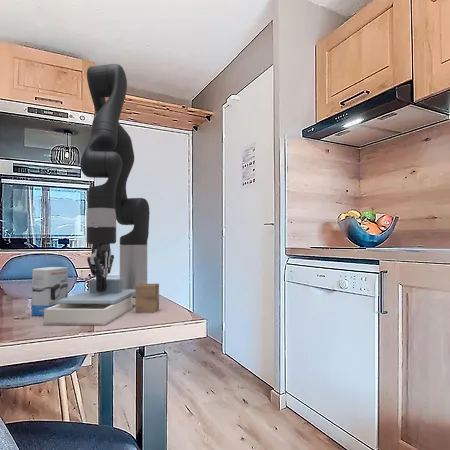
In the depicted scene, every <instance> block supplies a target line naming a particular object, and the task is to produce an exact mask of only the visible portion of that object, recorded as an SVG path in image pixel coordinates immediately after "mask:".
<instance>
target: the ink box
mask: <svg viewBox="0 0 450 450" xmlns="http://www.w3.org/2000/svg"><path fill="white" fill-rule="evenodd" d="M31 280H32V285H31V286H32V287H31V288H32V290H31V316H39V317H40V316H41V317H42V316H43V317H44V309H46V308H49V307H52V306H55V305H58V304H61V303H58V300H60V299H63V298H67V297H69V295H68V293H69V292H68V291H69V290H68V289H69V284H68V283H69V266H67V267H66V266H65V267H64V266H49V267H40V268H33V269H32V278H31Z"/></svg>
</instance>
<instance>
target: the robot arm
mask: <svg viewBox="0 0 450 450" xmlns="http://www.w3.org/2000/svg"><path fill="white" fill-rule="evenodd" d="M86 80H87V86H88V89H89V94H90V96H91V100H92V103H93V106H94V110H95V115H94V117H93V120H92V122H91V123H92V124H91V132H90V139H89V141H88V143H87V145H86V148H85V150H84V151H83V153H82V155H81V159H80V162H79V163H80V164H79V165H80V170H81V172H82V174H83V175H84V176H85V177H87V178H94V179H95V178H96V179H98V178H99V179H100V178H101V179H106V178H107V179H106V181H105V182H104V183H103V184H100V185H95V186H90V187H89V188H88V190H87V213H86V244H88V245H92V247H91V253H90V254H91V256H87V258H86V261H87V264H88V267H89V269H90V273H91V276H93V277H94V278H96V291H97V292H104V291H106V279H107V277H108V275H110V274H111V270H112V267H113V263H114V260H115V255H114V254H112V251H111V245H112V244H116V243H117V223H118V224H119V225H122V226H133V228H132V230H131V231H129V232H127V233H126V234H124V235H121V236H120V237H119V279H122V289H136V286H137V285H139V284H148V239H149V234H150V233H149V232H150V231H149V227H150V205H149V202H148V200H147V199H146V198H143V197H131V198H129V197H128V196H127V195H128V194H127V182H128V179H129V176H130V173H131V172H132V169H133V167H134V162H135V152H134V146H133V142H132V137H131V136H130V135H129V133H128V132H127V130H125V128H124V127H123V126H122V125H121V124H120V123H119V121H120V117H121V114H122V110H123V107H124V103H125V99H126V95H127V91H128V79H127V75H126V71H125V70H124V67H123V66H121V64H119V63H111V64H110V63H109V64H102V65H101V64H100V65H93V66H88V67H87V69H86ZM106 98H108V99H107V100H106ZM131 296H133V297H132V298H136V293H135V294H133V295H131Z"/></svg>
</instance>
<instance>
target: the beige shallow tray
mask: <svg viewBox="0 0 450 450" xmlns="http://www.w3.org/2000/svg"><path fill="white" fill-rule="evenodd" d="M133 298H134V297H133V296H129V297H127V298H125V299H123V300H121V301H119V302H117V303H115V304H111V303H61V304H58V305H55V306H52V307H49V308H46V309H44V316H43V326H107V325H108V324H110V323H112V322H113V321H115V320H117V319H118V318H120V317H121V316H123V315H125V314H126V313H128V312H130V311H131V310H133Z"/></svg>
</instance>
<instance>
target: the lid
mask: <svg viewBox="0 0 450 450" xmlns="http://www.w3.org/2000/svg"><path fill="white" fill-rule="evenodd" d="M135 293H136V289H122V279H120V278H119V279H118V278H117V279H116V278H113V279H111V278H110V279H109V278H108V279H107V278H106V291H104V292H97V291H96V279H94V278H93V279H90V280H89V290H86V291H83V292H78V293H76V294H74V295H71V296H68V297H67V298H63V299H60V300H58V303H111V304H115V303H117V302H119V301H121V300H123V299H125V298H127V297H129V296H131V295H133V294H135Z"/></svg>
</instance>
